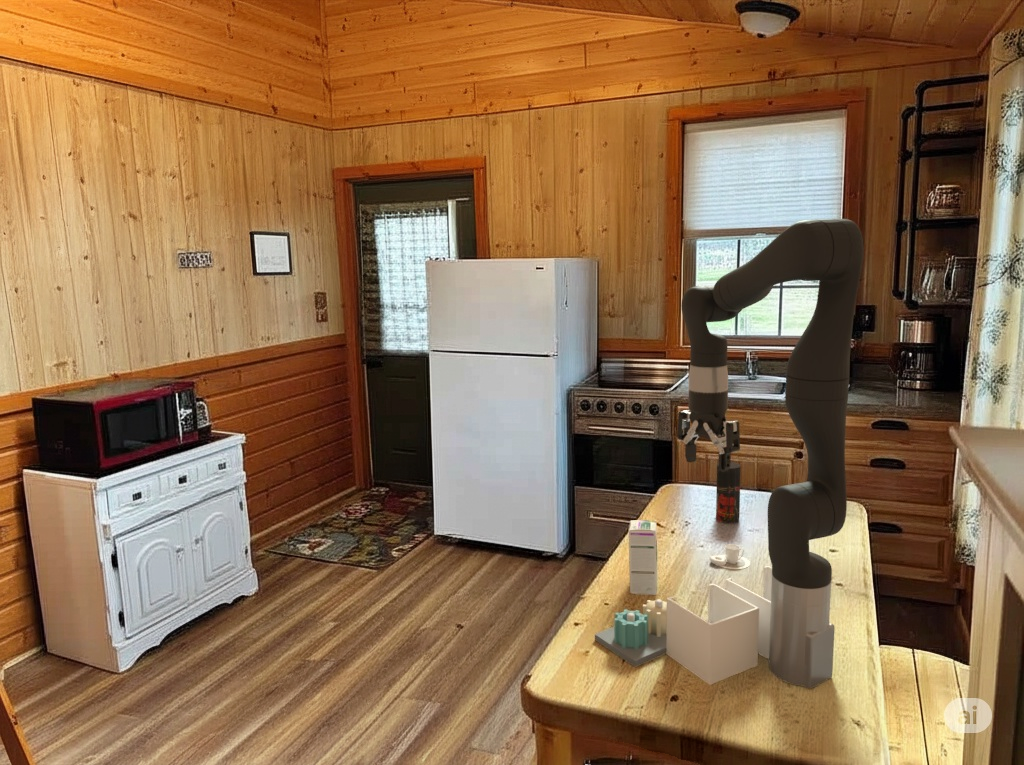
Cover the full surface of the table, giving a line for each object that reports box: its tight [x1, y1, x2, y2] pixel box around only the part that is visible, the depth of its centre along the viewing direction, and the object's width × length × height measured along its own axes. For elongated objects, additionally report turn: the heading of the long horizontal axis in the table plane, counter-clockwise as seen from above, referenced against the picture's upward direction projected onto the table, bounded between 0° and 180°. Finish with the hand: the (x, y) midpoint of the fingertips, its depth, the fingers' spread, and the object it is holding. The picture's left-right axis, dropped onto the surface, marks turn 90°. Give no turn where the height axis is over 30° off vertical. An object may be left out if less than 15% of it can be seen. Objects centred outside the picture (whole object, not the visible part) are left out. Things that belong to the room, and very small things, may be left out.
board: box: [594, 598, 667, 668], centre depth 134 cm, size 11×14×7 cm
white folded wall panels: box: [665, 565, 772, 686], centre depth 130 cm, size 25×11×11 cm, turn 118°
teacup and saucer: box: [709, 543, 751, 570], centre depth 167 cm, size 9×8×4 cm
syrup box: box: [628, 519, 658, 596], centre depth 154 cm, size 6×6×14 cm
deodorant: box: [715, 461, 742, 525], centre depth 191 cm, size 6×6×15 cm
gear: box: [613, 608, 647, 649], centre depth 133 cm, size 6×6×4 cm
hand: (707, 466), depth 146 cm, fingers open, 8 cm apart
